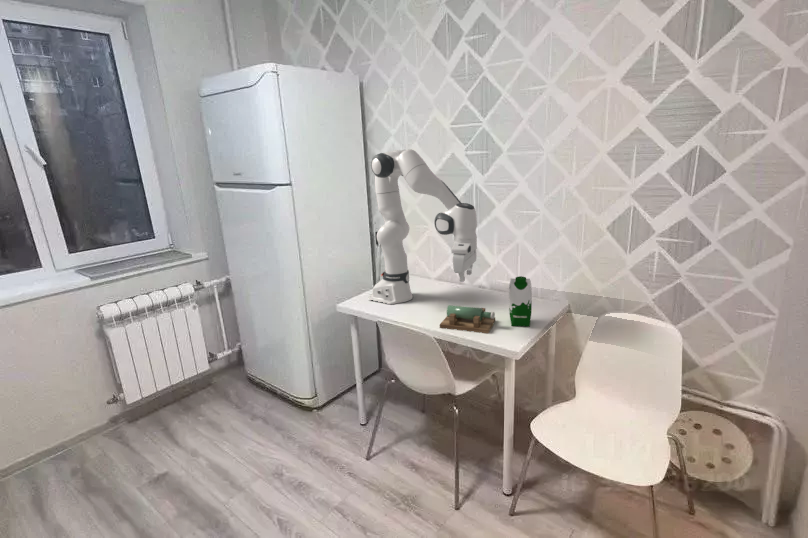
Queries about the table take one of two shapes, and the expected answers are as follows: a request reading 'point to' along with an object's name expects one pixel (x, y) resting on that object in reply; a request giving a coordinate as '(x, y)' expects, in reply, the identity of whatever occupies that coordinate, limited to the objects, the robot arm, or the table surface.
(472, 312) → the bottle
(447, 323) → the cradle
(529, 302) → the milk carton
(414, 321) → the table surface
